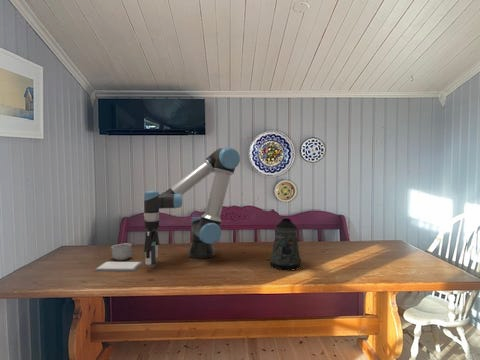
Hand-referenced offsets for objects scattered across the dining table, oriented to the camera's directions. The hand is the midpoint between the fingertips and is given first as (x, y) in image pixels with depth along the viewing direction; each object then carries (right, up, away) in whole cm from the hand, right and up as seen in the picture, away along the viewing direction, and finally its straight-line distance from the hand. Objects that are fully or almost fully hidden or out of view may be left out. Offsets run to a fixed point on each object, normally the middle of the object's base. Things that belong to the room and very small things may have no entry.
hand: (152, 260), depth 184 cm
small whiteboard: (-17, -3, -1) cm, 17 cm away
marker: (0, -3, 0) cm, 3 cm away
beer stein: (+70, -4, +3) cm, 70 cm away
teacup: (-21, -3, +16) cm, 27 cm away
